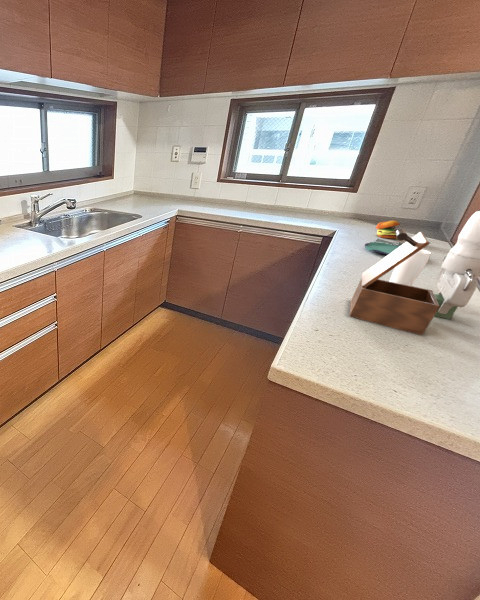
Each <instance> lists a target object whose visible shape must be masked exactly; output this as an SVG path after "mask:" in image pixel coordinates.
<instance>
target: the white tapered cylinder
mask: <svg viewBox="0 0 480 600" xmlns="http://www.w3.org/2000/svg"><path fill="white" fill-rule="evenodd" d="M431 256H432V252H431V251H430V250H426V249H424V248H423V249H421V250H420V251H418V252H417V253H415V254H414V255H412V256H411V257H410V258H408V259H407V260H405V261H404V262H402V263H401V264H399V265H398V266H396V267H395V268H393V269H392V270H393V271H392V273H391V276H390V278H389V280H388V281H389V282H394V283H399V284H404V285H409V286H413V284H414V283H415V281H417V278H418V277H419V275H420V274H421V273H422V271H423V270H424V268H425V267H426V265H427V263H428V262H429V260H430V258H431Z"/></svg>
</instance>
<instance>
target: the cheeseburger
mask: <svg viewBox="0 0 480 600" xmlns="http://www.w3.org/2000/svg"><path fill="white" fill-rule="evenodd" d="M400 225H401V224H400V222H398V221H397V220H396V219H395V220H388V221H380V222H379V223H377V225H376V226H375V229H377V232H376V236H377V237H379V238H380V239H393V240H398V239H397V237H396V234H395V233H396V231H397V230H399V229H400V228H399V229H398V228H397V226H400ZM398 241H399V240H398Z"/></svg>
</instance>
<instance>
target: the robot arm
mask: <svg viewBox="0 0 480 600" xmlns="http://www.w3.org/2000/svg"><path fill="white" fill-rule="evenodd" d="M479 277H480V209H478V210H476V211H475V212H474V213H473V214H472V215H471V216H470V217H469V218H468V220H467V221H466V223H465V224H464V225H463V227H462V229H461V230H460V232H459V234H458V235H457V241H456V243H455V245H454V246H452V247H451V248H450V249H449V251H448V253H447V254H445V255H444V257H443V259H442V263H441V268H440V270H439V272H438V274H437V276H436V280H435V284H436V286H437V288H438V292H437V294H438V295H442V296H443V298H444V301H443V304H442V305H441V306H440V307H439V309H438V312H439V313H442V314H447V313H448V311H449V310H450V309H451V308H452V307H453V306H457V307H458V308H465V306H466V307H467V305H468V304H469V302H470V300H471V298H472V297H473V295H474V293H475V291H476V289H477V287H478V286H479V285H478V284H479V282H478V278H479Z"/></svg>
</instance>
